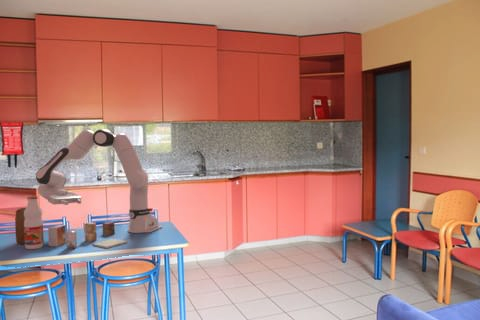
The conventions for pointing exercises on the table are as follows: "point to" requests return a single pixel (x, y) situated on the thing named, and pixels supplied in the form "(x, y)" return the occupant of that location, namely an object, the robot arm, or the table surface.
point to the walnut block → (108, 228)
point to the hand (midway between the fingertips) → (73, 203)
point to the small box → (57, 235)
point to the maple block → (90, 232)
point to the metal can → (71, 239)
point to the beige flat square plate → (110, 243)
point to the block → (20, 226)
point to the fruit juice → (33, 224)
